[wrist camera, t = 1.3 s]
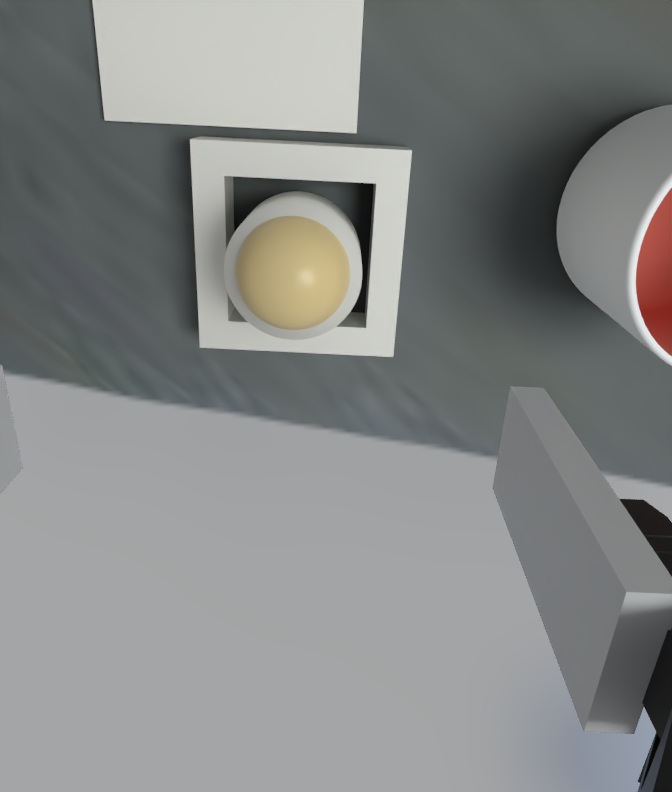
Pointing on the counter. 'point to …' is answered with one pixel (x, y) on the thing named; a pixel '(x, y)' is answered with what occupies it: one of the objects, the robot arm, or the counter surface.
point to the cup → (624, 227)
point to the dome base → (299, 162)
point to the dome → (294, 266)
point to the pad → (231, 62)
